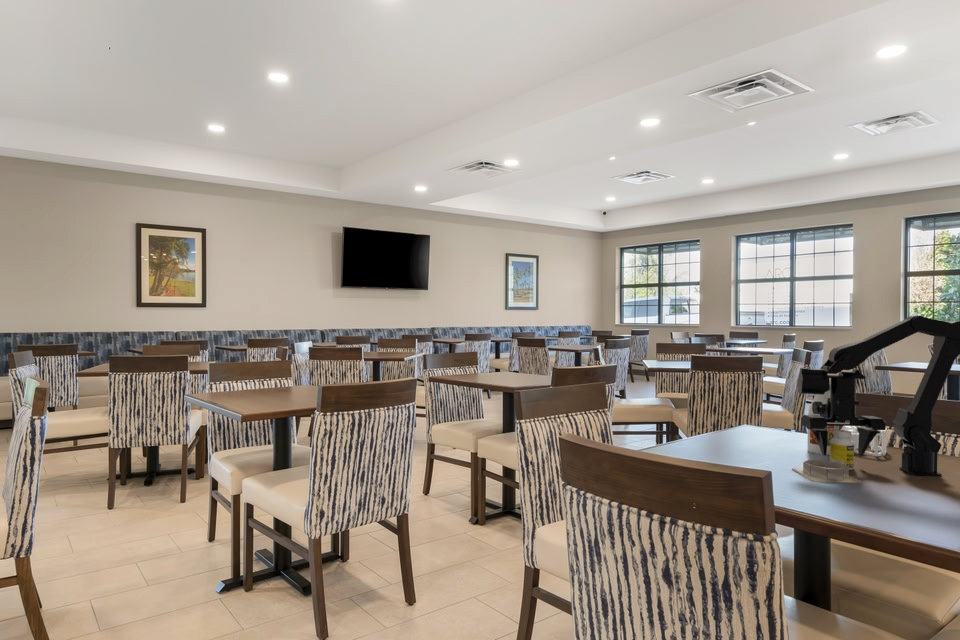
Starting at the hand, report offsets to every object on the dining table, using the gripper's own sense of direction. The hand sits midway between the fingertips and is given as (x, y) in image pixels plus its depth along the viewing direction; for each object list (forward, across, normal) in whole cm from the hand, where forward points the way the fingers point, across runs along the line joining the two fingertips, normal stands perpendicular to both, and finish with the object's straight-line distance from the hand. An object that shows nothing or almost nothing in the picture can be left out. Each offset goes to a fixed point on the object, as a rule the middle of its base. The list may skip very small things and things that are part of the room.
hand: (842, 455), depth 157 cm
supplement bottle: (+4, 0, 0) cm, 4 cm away
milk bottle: (+4, -4, -18) cm, 19 cm away
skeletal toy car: (+4, -19, -24) cm, 31 cm away
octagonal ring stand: (+3, +9, +10) cm, 14 cm away
